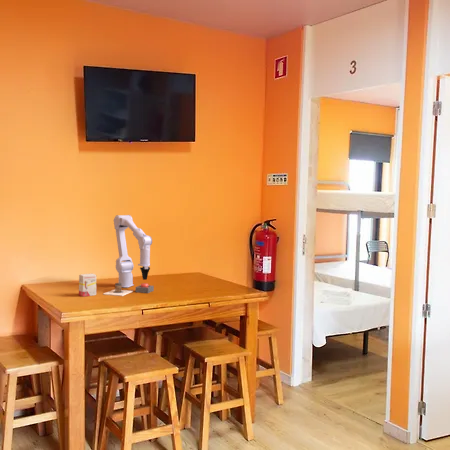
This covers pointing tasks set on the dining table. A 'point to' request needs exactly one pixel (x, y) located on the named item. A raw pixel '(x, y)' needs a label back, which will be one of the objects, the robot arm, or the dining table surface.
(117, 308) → the dining table surface
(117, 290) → the grey rounded cylinder
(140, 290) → the button housing
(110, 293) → the paper sheet
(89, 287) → the ink box
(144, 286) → the button
